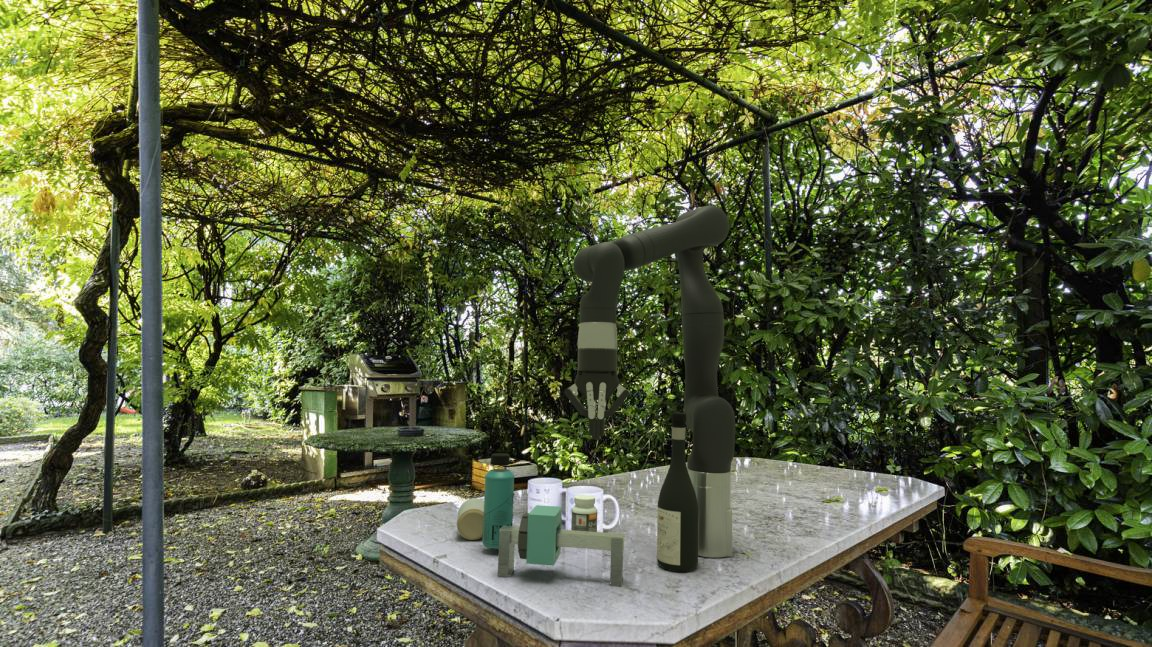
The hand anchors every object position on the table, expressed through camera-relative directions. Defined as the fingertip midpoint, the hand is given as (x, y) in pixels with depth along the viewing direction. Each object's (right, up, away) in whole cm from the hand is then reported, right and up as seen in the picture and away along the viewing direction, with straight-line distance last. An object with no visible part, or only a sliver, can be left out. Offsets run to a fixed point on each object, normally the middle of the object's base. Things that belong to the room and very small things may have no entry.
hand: (596, 438), depth 106 cm
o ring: (-13, -22, -2) cm, 25 cm away
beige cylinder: (-26, -27, +21) cm, 43 cm away
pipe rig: (-7, -25, -3) cm, 26 cm away
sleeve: (-10, -22, -2) cm, 24 cm away
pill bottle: (-2, -27, +18) cm, 33 cm away
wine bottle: (+16, -26, +5) cm, 31 cm away
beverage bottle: (-20, -26, +11) cm, 35 cm away
